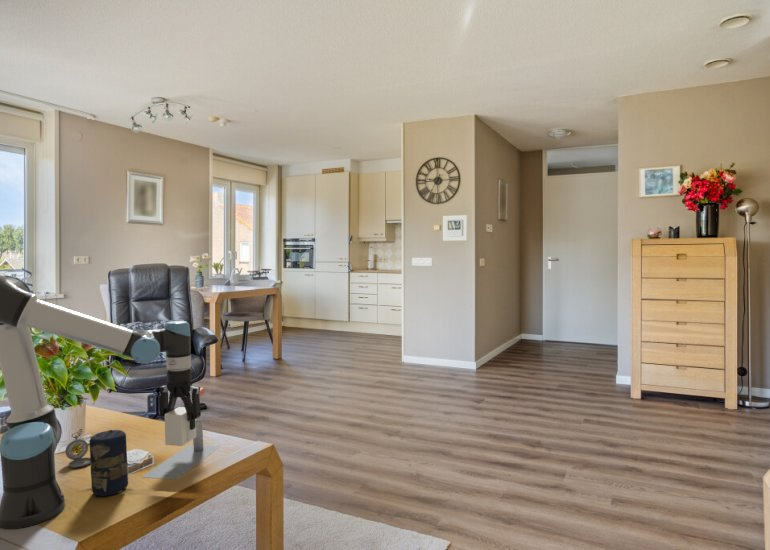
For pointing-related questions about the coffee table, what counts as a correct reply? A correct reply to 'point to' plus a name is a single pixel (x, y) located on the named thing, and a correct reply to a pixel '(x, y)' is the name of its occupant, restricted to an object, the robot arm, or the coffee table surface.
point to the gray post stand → (183, 458)
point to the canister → (108, 462)
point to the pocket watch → (77, 458)
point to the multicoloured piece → (199, 397)
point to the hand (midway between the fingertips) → (181, 438)
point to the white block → (177, 427)
